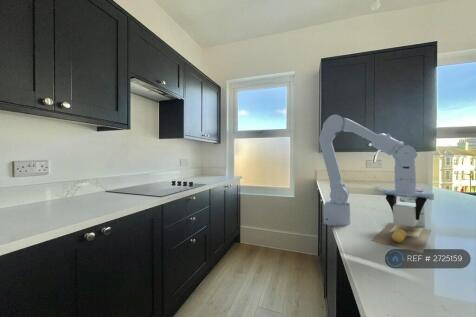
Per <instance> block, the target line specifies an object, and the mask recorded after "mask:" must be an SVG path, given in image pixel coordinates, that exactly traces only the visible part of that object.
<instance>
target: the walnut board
mask: <svg viewBox="0 0 476 317" xmlns="http://www.w3.org/2000/svg"><path fill="white" fill-rule="evenodd" d="M397 229H402V230H404V231H405V232H406V238H404V241H403V242H401V243H398V242H395V241H394V240H393V239H392V234H393V233H395V230H397ZM431 231H432V230H431V229H427V228H423V227H418V226H415V227H412V226H407V225H401V224H395V223H393V222H389V223H387V225H386V226H385V227H384V228H382V229H381V230H380V232H379V233H378V234H377V235H376V236H375V237H374V238H373V239H372V240H371V242H374V243H378V244H384V245H387V246H392V247H395V248H399V249H403V250H407V251H411V252H412V251H413V252H415V253H420V254H424V251H425V248H426V245H427V244H428V240H429V237H430V234H431Z"/></svg>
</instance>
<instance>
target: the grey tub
mask: <svg viewBox="0 0 476 317" xmlns="http://www.w3.org/2000/svg"><path fill="white" fill-rule="evenodd" d="M392 217H393V218H392V219H393V220H392V223H394V224H400V225H405V226H411V227H416V226H415V225H416V223H417V222H418V220H416V203H409V202H400V200H399V201H396V204H395V205H394V206H393V212H392Z"/></svg>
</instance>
